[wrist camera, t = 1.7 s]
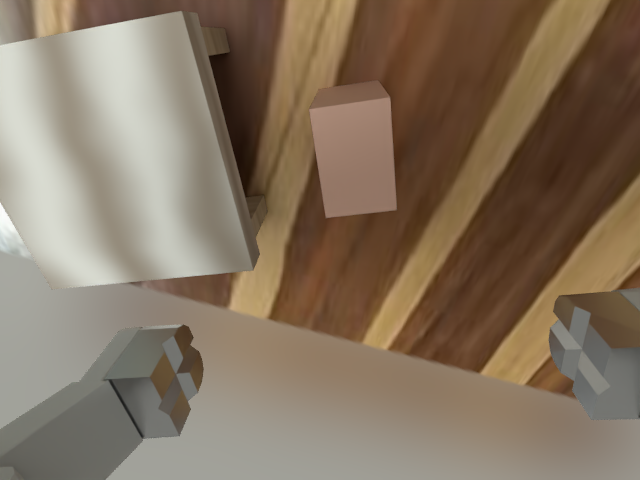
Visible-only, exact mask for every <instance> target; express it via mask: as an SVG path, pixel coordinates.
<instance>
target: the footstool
mask: <svg viewBox="0 0 640 480" xmlns="http://www.w3.org/2000/svg"><path fill="white" fill-rule="evenodd" d="M228 52H230V49H229V45H228V41H227V36H226V32H225V28H212V27H201V26H200V22H199V18H198V14H197V13H193V12H186V11H179V12H173V13H168V14H163V15H157V16H152V17H147V18H141V19H136V20H131V21H126V22H120V23H115V24H110V25H104V26H99V27H94V28H89V29H83V30H78V31H73V32H67V33H62V34H57V35H51V36H46V37H41V38H36V39H30V40H25V41H20V42H14V43H9V44H4V45H0V202H1V204H2V206H3V208H4V209H5V211H6V213H7V214H8V216H9V218H10V219H11V221H12V223H13V224H14V226H15V228H16V230H17V231H18V233H19V235H20V236H21V238H22V240H23V241H24V243H25V245H26V247H27V248H28V250H29V252H30V253H31V255H32V257H33V258H34V260H35V262H36V263H37V265H38V267H39V269H40V270H41V272H42V274H43V275H44V277H45V279H46V280H47V282H48V284H49V285H50V287H51V289H62V288H72V287H83V286H93V285H103V284H114V283H125V282H136V281H146V280H157V279H167V278H178V277H188V276H199V275H210V274H220V273H231V272H241V271H252V270H254V267H255V265H256V262H257V260H258V257H259V255H260V253H259V249H258V245H257V241H256V236H257V234H258V231H259V229H260V227H261V225H262V223H263V220H264V218H265V216H266V214H267V207H266V203H265V198H264V195H261V196H253V197H247V198H246V199H245V195H244V191H243V187H242V184H241V180H240V176H239V172H238V168H237V164H236V160H235V157H234V153H233V149H232V145H231V141H230V137H229V134H228V130H227V126H226V122H225V118H224V114H223V111H222V107H221V103H220V99H219V95H218V91H217V87H216V84H215V80H214V76H213V72H212V68H211V64H210V61H209V57H208V56H211V55H217V54H222V53H228Z"/></svg>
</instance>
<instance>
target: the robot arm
mask: <svg viewBox="0 0 640 480" xmlns="http://www.w3.org/2000/svg"><path fill="white" fill-rule="evenodd" d="M553 312H554V313H555V314H556V316H557V317H558V318H559V320H558V321H557V322H556V323H555V324H554V325H553V326H552V327H551V328H550V334H549V345H550V351H551V355H552V357H553V360H554V362H555V364H556V366H557V367H558V369H559V371H560V372H561V373H562V374H564V375H565V376H567V377H569V378H570V379H572V380H574V385H573V390H572V391H573V392H574V394H575V396H576V397H577V399H578V400H579V402H580V403H581V405H582V406H583V408H584V409H585V411H586V412H587V414H588V415H589V417H590V419H591V420H608V419H610V420H611V419H640V288H633V289H623V290H613V291H611V292H597V293H585V294H573V295H561V296H558V298H557V299H556V301H555V305H554V310H553ZM192 340H193V335H192V333H191V331H190V329H189V327H188V326H185V325H167V326H149V327H135V328H125V329H122V330H120V331H118V333H117V334H116V335H115V337H114V338H113V339H112V341H111V342H110V343H109V344H108V346H107V347H106V348H105V349H104V351H103V352H102V353H101V354H100V356H99V357H98V358H97V360H96V361H95V362H94V363H93V365H92V366H91V367H90V369H89V370H88V371H87V372H86V374H85V375H84V376H83V378H82V379H81V380H80V381H79V382H73V383H71V384H69V385H68V386H66V387H65V388H63V389H62V390H60V391H59V392H57V393H56V394H54V395H52V396H51V397H50V398H48V399H46V400H45V401H43V402H42V403H40V404H38V405H37V406H35V407H34V408H32V409H31V410H29V411H28V412H26V413H25V414H23V415H21V416H20V417H19V418H17V419H15V420H14V421H12V422H11V423H9V424H8V425H6V426H4V427H3V428H1V429H0V480H105V479H106V478H107V477H108V476H109V475H110V474H111V473H112V472H113V471H114V470H115V469H116V468H117V467H118V466H119V465H120V464H121V463H122V462H123V461H124V460H125V459H126V458H127V457H128V456H129V455H130V454H131V453H132V451H134V449H136V448H137V446H138V445H139V444H140V443H141V442H142V441H143V439H145V438H159V437H174V436H180V434H181V431H182V429H183V427H184V424H185V422H186V420H187V417H188V415H189V412H190V410H191V408H190V405H189V403H188V400H190V399H191V398H192V397H193V396H194V395H195V394H196V393H198V391H199V388H200V386H201V383H202V377H203V363H202V358H201V356H200V353H199V351H198V350H196V349H195V348H193V347H192V346H191V345H190V344H191V342H192Z"/></svg>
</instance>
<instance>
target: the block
mask: <svg viewBox="0 0 640 480" xmlns="http://www.w3.org/2000/svg"><path fill="white" fill-rule="evenodd" d="M309 113H310V119H311V126H312V132H313V138H314V145H315V151H316V158H317V164H318V170H319V177H320V183H321V189H322V196H323V202H324V209H325V215H326V218H330V217H339V216H348V215H357V214H366V213H375V212H384V211H393V210H397V204H396V187H395V170H394V153H393V136H392V120H391V103H390V96H389V95H388V93H387V92H386V91H385V89H384V88H383V86H382V85H381V83H380V82H379V81H378V80H375V81H368V82H362V83H355V84H349V85H342V86H336V87H329V88H323V89H319V90H318V92H317V94H316V96H315V98H314V100H313V102H312V104H311V106H310V108H309Z"/></svg>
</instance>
